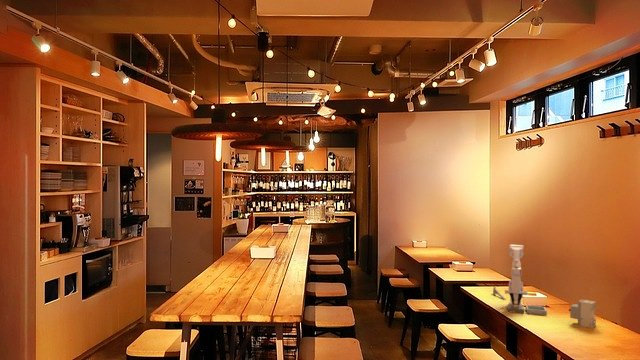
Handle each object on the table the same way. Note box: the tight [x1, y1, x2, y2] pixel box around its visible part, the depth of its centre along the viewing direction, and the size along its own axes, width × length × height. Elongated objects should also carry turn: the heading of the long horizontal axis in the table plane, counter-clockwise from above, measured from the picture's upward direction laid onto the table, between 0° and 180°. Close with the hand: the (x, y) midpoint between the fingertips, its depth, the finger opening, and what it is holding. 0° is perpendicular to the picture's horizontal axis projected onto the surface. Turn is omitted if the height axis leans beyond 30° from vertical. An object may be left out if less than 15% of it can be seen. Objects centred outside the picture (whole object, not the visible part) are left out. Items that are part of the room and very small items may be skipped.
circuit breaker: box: [568, 299, 597, 329], centre depth 303 cm, size 8×14×15 cm, turn 45°
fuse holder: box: [507, 303, 525, 314], centre depth 334 cm, size 12×10×2 cm
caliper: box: [492, 286, 507, 301], centre depth 375 cm, size 20×1×6 cm, turn 4°
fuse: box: [513, 297, 518, 308], centre depth 334 cm, size 3×3×8 cm
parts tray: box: [525, 304, 548, 316], centre depth 330 cm, size 12×12×3 cm
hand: (515, 304), depth 334 cm, fingers closed on fuse, 3 cm apart
